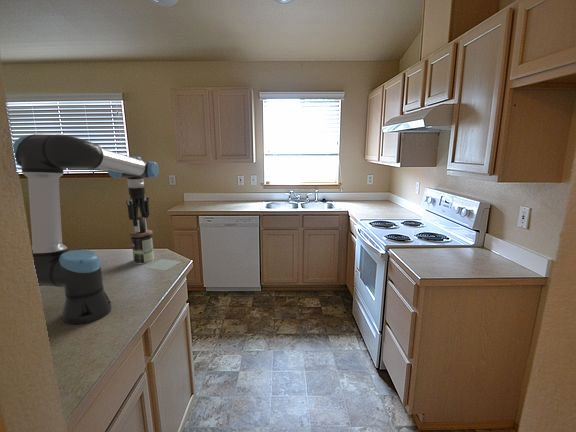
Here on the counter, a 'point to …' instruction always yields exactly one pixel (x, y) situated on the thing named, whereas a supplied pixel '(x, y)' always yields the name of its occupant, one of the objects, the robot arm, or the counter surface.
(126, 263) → the counter surface
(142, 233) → the lid
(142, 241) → the coffee can
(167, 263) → the mat
